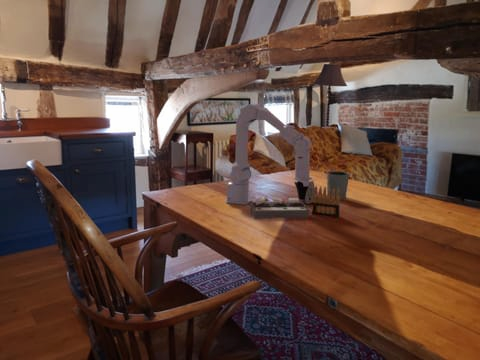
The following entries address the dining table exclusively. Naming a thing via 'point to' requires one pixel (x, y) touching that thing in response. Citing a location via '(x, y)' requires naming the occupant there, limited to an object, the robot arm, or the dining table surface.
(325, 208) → the ammunition clip
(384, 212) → the dining table surface
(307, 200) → the electrical switch
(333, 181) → the grey cup
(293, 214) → the switch panel
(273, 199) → the rocker middle
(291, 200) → the rocker right
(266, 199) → the rocker left
